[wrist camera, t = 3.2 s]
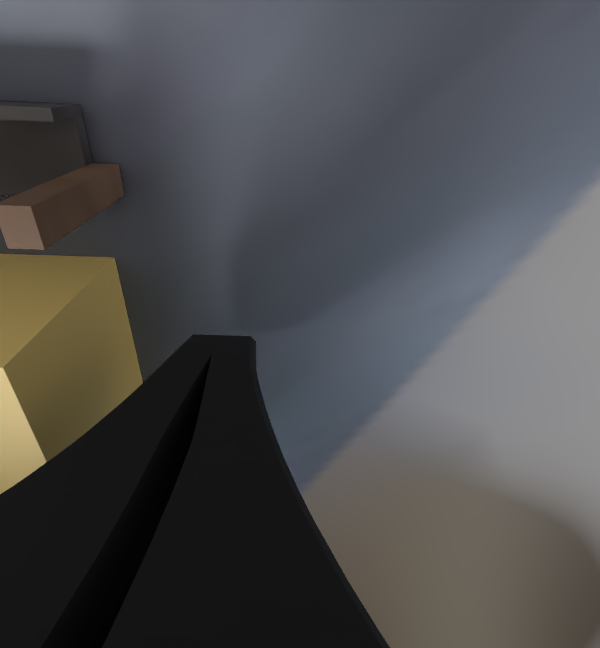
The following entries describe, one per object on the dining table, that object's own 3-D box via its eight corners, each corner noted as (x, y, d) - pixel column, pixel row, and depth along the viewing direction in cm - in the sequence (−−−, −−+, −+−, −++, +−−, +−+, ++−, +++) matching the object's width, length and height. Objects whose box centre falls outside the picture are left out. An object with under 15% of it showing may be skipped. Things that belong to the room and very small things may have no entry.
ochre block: (146, 390, 11) (78, 530, 8) (0, 387, 11) (-135, 527, 7) (115, 256, 9) (2, 368, 5) (-67, 250, 9) (-296, 359, 5)
